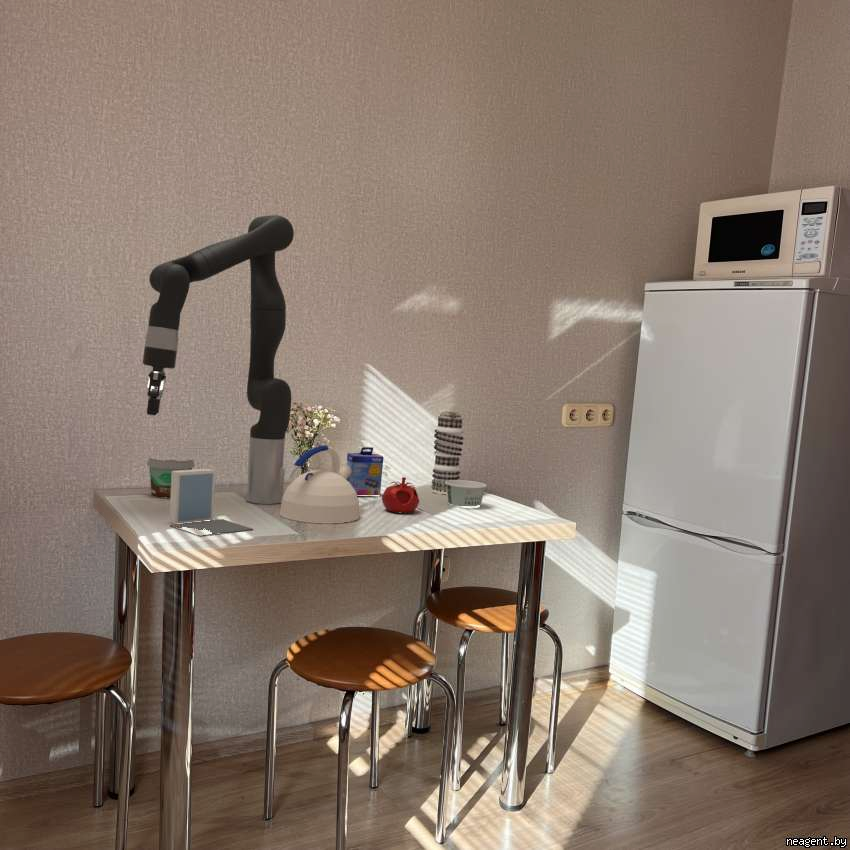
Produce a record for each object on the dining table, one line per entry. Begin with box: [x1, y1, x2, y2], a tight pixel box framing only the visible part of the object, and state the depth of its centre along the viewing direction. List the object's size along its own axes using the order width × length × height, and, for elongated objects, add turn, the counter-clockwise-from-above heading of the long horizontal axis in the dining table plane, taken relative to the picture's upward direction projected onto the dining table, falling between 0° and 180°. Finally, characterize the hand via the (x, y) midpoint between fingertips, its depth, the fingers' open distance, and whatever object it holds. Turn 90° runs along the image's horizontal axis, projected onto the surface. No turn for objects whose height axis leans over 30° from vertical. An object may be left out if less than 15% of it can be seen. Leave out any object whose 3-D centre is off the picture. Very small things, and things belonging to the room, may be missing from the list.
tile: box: [168, 468, 216, 524], centre depth 205 cm, size 3×10×12 cm, turn 137°
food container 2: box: [445, 479, 488, 506], centre depth 253 cm, size 12×12×6 cm
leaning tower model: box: [431, 411, 465, 492], centre depth 272 cm, size 9×9×25 cm
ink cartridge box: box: [346, 446, 385, 496], centre depth 257 cm, size 10×6×14 cm, turn 114°
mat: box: [169, 518, 254, 534], centre depth 200 cm, size 12×14×1 cm
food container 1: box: [146, 457, 195, 499], centre depth 233 cm, size 12×6×10 cm, turn 112°
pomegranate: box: [381, 476, 420, 514], centre depth 237 cm, size 10×10×9 cm
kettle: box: [279, 444, 361, 525], centre depth 223 cm, size 20×21×18 cm
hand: (152, 414), depth 212 cm, fingers open, 8 cm apart
